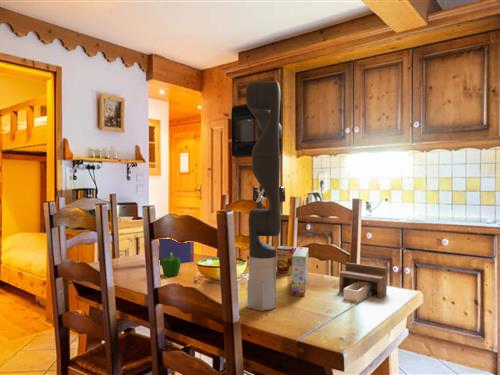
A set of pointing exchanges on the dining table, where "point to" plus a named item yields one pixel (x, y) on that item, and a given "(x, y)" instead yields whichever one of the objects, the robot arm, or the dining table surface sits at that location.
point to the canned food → (284, 260)
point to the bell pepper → (171, 265)
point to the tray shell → (357, 291)
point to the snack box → (299, 271)
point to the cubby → (364, 277)
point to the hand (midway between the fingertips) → (268, 212)
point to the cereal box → (176, 250)
